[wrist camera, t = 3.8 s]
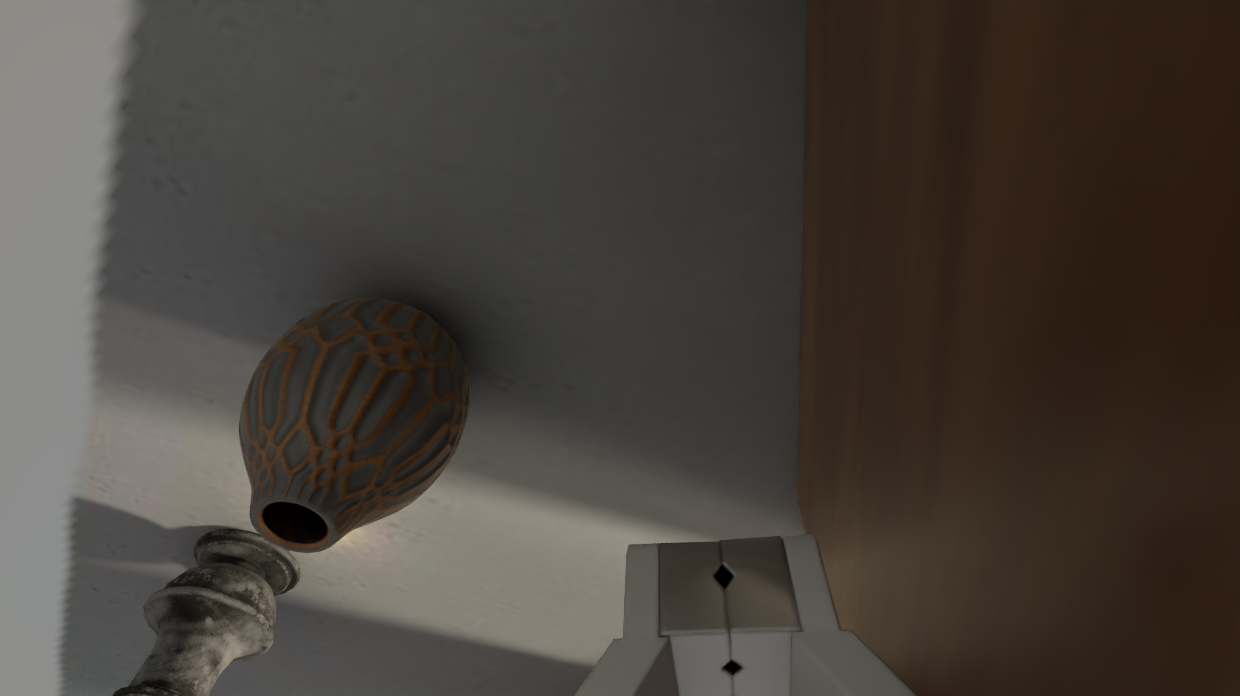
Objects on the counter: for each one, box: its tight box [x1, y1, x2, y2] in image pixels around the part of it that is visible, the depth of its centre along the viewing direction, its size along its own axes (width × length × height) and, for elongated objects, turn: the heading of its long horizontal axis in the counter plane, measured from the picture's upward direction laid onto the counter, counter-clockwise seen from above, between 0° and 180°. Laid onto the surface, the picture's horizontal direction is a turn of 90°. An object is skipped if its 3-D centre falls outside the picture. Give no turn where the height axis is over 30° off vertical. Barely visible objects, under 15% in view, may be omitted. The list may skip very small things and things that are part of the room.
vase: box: [239, 298, 469, 553], centre depth 21 cm, size 7×7×9 cm
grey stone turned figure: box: [113, 530, 300, 696], centre depth 28 cm, size 6×6×12 cm
